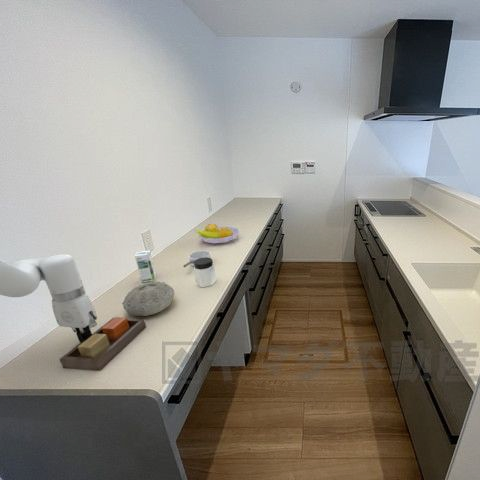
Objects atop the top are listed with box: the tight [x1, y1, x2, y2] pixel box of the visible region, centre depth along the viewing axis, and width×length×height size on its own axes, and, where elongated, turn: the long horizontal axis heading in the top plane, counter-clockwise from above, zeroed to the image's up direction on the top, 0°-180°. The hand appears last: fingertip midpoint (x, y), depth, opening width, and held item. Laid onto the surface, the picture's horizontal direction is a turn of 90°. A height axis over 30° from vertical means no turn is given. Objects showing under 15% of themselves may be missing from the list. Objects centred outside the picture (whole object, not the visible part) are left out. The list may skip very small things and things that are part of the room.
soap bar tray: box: [59, 316, 147, 372], centre depth 88 cm, size 12×20×6 cm, turn 175°
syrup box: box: [134, 250, 157, 283], centre depth 128 cm, size 6×6×14 cm
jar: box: [193, 257, 217, 288], centre depth 126 cm, size 9×8×12 cm
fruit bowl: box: [194, 223, 240, 244], centre depth 181 cm, size 28×27×11 cm
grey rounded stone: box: [122, 281, 175, 317], centre depth 107 cm, size 18×18×10 cm
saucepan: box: [182, 250, 212, 268], centre depth 143 cm, size 12×20×6 cm, turn 173°
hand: (86, 339), depth 89 cm, fingers closed
